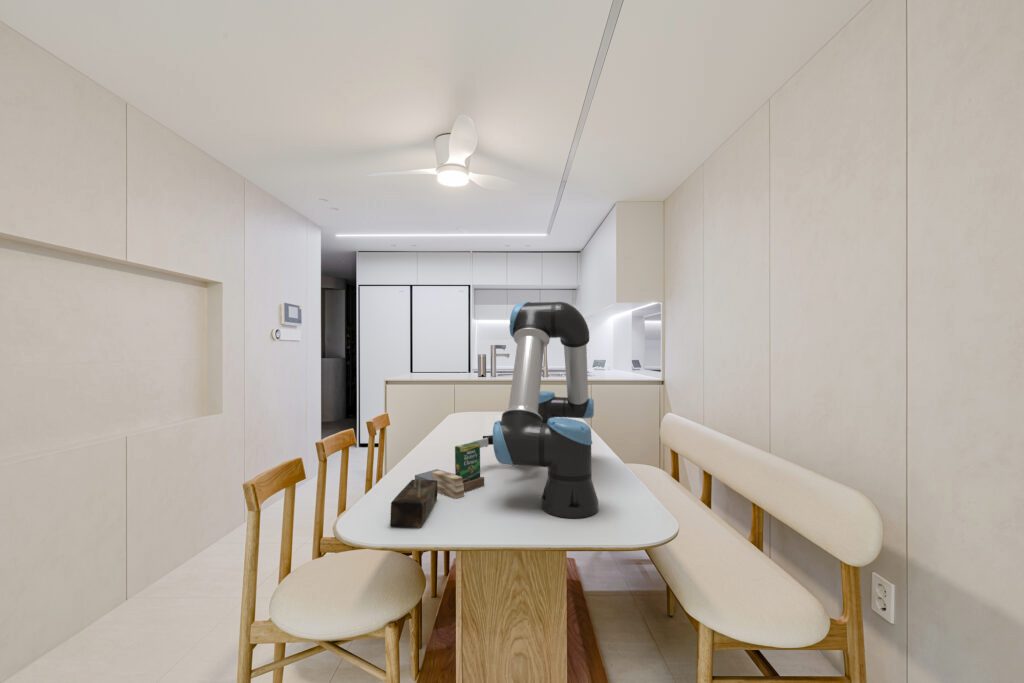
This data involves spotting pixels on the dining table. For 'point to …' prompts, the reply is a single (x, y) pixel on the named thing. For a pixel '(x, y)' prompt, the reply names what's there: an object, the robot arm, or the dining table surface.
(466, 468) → the coffee box
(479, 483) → the walnut rack
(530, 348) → the robot arm
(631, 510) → the dining table surface
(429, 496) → the beverage carton
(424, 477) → the stand pad
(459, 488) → the offcut stack
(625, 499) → the dining table surface
